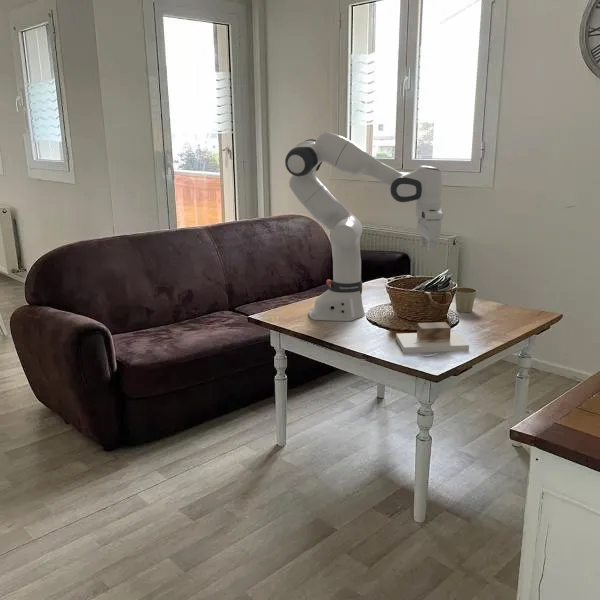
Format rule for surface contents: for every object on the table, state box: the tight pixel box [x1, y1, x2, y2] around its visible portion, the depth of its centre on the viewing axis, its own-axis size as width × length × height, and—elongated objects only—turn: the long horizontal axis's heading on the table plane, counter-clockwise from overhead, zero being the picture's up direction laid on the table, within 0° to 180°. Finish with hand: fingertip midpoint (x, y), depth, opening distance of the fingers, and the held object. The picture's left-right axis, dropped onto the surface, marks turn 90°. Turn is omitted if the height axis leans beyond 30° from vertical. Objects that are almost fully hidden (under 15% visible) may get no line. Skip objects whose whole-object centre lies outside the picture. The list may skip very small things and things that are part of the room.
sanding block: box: [416, 321, 452, 343], centre depth 211 cm, size 10×6×5 cm, turn 92°
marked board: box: [395, 331, 470, 354], centre depth 212 cm, size 22×14×2 cm, turn 92°
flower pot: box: [454, 286, 479, 313], centre depth 248 cm, size 9×9×9 cm
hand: (427, 248), depth 227 cm, fingers open, 8 cm apart
